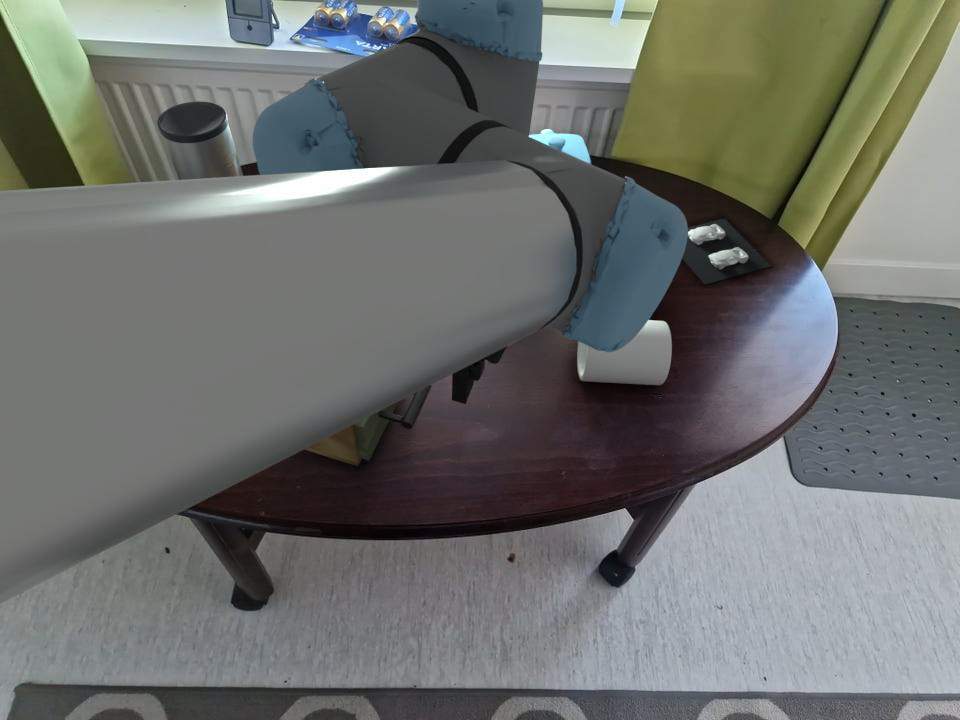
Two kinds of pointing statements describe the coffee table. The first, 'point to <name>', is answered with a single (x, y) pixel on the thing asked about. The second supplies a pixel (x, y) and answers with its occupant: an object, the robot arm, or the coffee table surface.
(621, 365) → the mug
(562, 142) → the teapot
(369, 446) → the drawer
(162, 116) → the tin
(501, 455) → the coffee table surface
